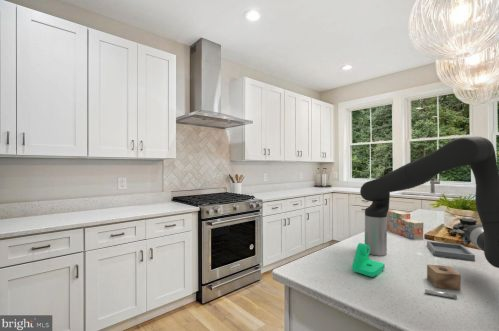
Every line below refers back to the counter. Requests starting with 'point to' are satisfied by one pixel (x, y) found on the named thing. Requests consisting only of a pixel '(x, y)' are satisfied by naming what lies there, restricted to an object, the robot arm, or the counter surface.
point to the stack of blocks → (404, 225)
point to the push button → (468, 222)
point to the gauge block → (443, 277)
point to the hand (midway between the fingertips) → (465, 226)
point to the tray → (450, 251)
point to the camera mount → (366, 262)
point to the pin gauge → (441, 294)
